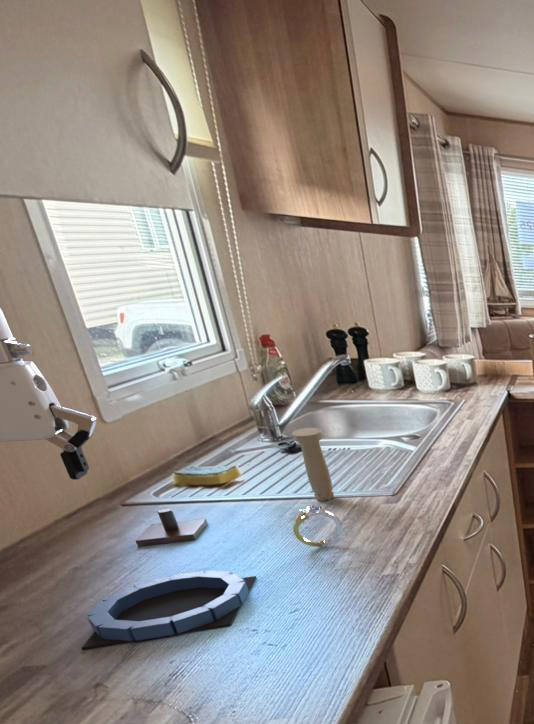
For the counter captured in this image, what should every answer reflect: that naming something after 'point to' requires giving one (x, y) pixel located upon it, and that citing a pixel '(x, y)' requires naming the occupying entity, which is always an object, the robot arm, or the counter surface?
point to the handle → (315, 462)
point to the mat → (171, 611)
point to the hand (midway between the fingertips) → (31, 479)
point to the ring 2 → (311, 512)
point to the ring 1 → (114, 629)
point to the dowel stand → (171, 530)
